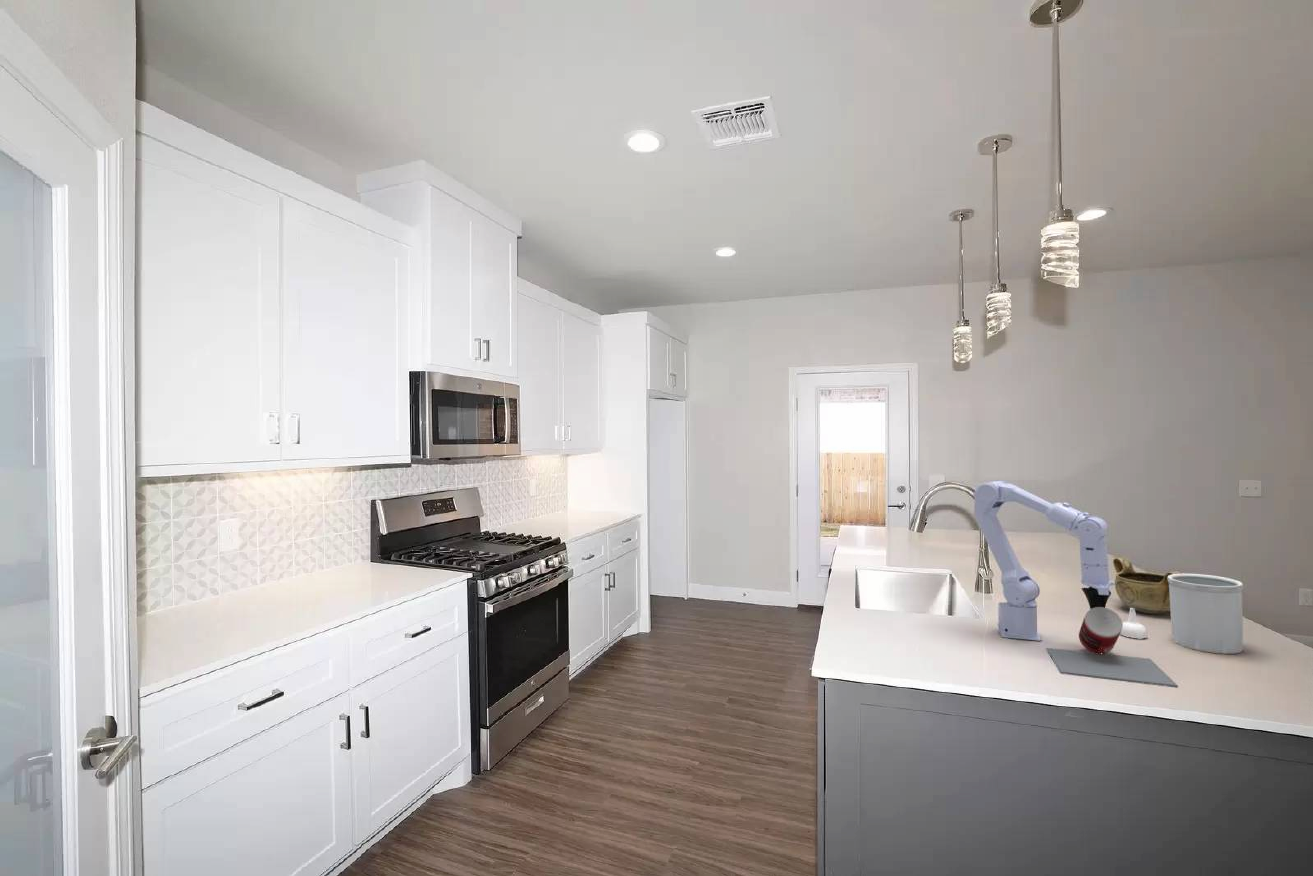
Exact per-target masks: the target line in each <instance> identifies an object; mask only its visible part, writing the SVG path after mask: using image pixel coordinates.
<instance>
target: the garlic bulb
mask: <svg viewBox="0 0 1313 876" xmlns="http://www.w3.org/2000/svg"><path fill="white" fill-rule="evenodd" d="M1128 613H1129V614H1128V619H1127V621H1124V622H1122V624H1123V626H1122V631H1121V633H1120V635H1121V636H1122V635H1123V636H1122V637H1124V636H1128V637H1131V638H1130V639H1132V638H1138V639H1137V640H1144V639H1143V638H1145V639H1147V637H1148V630H1147V628H1146V627H1145V626H1144V625H1143V624H1141V623H1139V621H1138V618H1137V614H1136V610H1135V609H1133V608H1130V607H1129V612H1128ZM1128 637H1127V638H1128Z"/></svg>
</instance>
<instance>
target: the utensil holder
mask: <svg viewBox="0 0 1313 876" xmlns="http://www.w3.org/2000/svg"><path fill="white" fill-rule="evenodd" d="M1168 582H1169V593H1170V611H1169V612H1170V623H1171V637H1172V641H1173V642H1174V641H1175V642H1176V643H1175V642H1174V643H1175V644H1177V643H1178V644H1177V645H1179V644H1180V645H1179V646H1181V645H1182V646H1181V647H1184V646H1186V647H1185V648H1187V647H1189V648H1188V649H1191V648H1192V649H1191V650H1196V651H1200V650H1202V651H1201V652H1206V653H1212V654H1223V655H1224V654H1225V655H1227V654H1228V655H1231V654H1239V653H1241V652H1242V651H1243V645H1244V644H1243V638H1244V637H1243V636H1244V632H1243V631H1244V626H1243V625H1244V624H1243V616H1244V615H1243V593H1242V592H1243V590H1244V584H1243V583H1242V582H1241V581H1240V580H1236V579H1233V578H1229V577H1223V576H1218V575H1210V574H1202V573H1201V574H1200V573H1183V574H1172V575H1169V576H1168Z"/></svg>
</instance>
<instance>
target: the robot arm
mask: <svg viewBox="0 0 1313 876" xmlns="http://www.w3.org/2000/svg"><path fill="white" fill-rule="evenodd" d="M972 496H973V498H974V505H973V506H974V507H973V508H974V509H973V515H974V517H975V521H976V522H977V525H978V526H979V529H980V530H981V533H982V534H983V537H984V539H985V541H986V543H987V545H988V547H989V549H990V551H991V553H992V555H993V557H994V559H995V561H996V564H997V566H998V567H999V570H1000V572H1001V578H1000V583H1001V585H1002V590H1003V591H1002V593H1003V597H1004V598H1005V600H1006V601H1005V602H998V607H997V608H998V609H997V611H998V612H997V614H998V620H997V621H998V622H997V627H998V631H999V634H1000V636H1001V637H1002V638H1007V639H1008V638H1009V639H1018V640H1027V641H1028V640H1029V641H1030V640H1031V641H1037V642H1041V641H1042V638H1041V636H1040V635H1039V633H1038V603H1037V600H1036V599H1037V598H1038V597H1039V596H1040V594H1041V589H1040V588H1041V587H1040V586H1039V584H1038V583H1037V581H1036V580H1034V579H1033V577H1032V576H1031V575H1030V573H1029V572H1028V571H1027V570H1026V569H1025V568H1023V567H1022V566H1021V564H1020V561H1019V559H1018V557H1017V555H1016V553H1015V551H1014V548H1013V547H1012V545H1011V543H1010V541H1009V539H1008V537H1007V534H1006V533H1005V530H1004V528H1003V526H1002V524H1001V522H1000V520H999V518H998V516H997V514H998V512H999V511H1000V508H1001V506H1003V505H1004V504H1005V503H1006V502H1007V503H1009V502H1010V503H1011V502H1013V503H1014V502H1016V503H1017V504H1020V505H1022V506H1026V507H1027V508H1029V509H1033V510H1034V511H1036V512H1039V513H1041V514H1044V515H1045V516H1046V518H1047V521H1048V522H1050V523H1052V524H1055V525H1057V526H1059V527H1060V528H1061V527H1062V528H1063V529H1065V530H1068V531H1069V532H1072V533H1075V535H1076V536H1077V537H1078V538H1079V554H1080V568H1081V569H1080V570H1081V571H1080V572H1081V580H1080V583H1081V584H1082V585H1083V586H1087V587H1082V588H1081V591H1082V592H1083V594H1084V595H1085V597H1086V600H1087V602H1088V606H1089V610H1090V609H1092V608H1095V607H1104V608H1106V606H1107V605H1106V604H1107V602H1108V600H1109V599H1110V597H1111V594H1112V592H1111V591H1110V589H1109V588H1110V586H1115V581H1113V580H1110V576H1109V575H1110V574H1109V560H1108V559H1109V558H1108V556H1109V555H1108V547H1107V539H1106V538H1107V537H1106V536H1107V534H1108V533H1109V525H1108V523H1107V522H1106V521H1105V520H1104V519H1103V518H1101V517H1100V516H1098V515H1090V513H1088V512H1087V511H1084V512H1083V511H1080V510H1078V509H1076V508H1073V507H1072V506H1071V504H1070V503H1068V502H1063V503H1062V502H1055V503H1051V502H1049V501H1046V500H1045V499H1043V498H1041V497H1038V496H1037V495H1035V494H1033V493H1031V492H1029V491H1027V490H1025V489H1023V488H1022V487H1019V486H1017V485H1015V484H1013V483H1008V482H1007V481H1004V480H999V479H997V480H994V481H984V482H981V483H980V484H979V485H978V486H977V487H976V489H975V490H974V492H973V494H972Z"/></svg>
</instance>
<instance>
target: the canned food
mask: <svg viewBox="0 0 1313 876" xmlns="http://www.w3.org/2000/svg"><path fill="white" fill-rule="evenodd" d="M1081 623H1082V624H1081V626H1080V629H1079V631H1078V639H1079V643H1080V644H1081V645H1082V647H1083V648H1085V649H1086V650H1087V651H1088V652H1091V653H1093V652H1094V653H1102V654H1107V653H1108V652H1110V651H1112V650H1113V649H1114V648H1115V646H1116V643H1117V641H1118V639H1119V637H1120V635H1121V634H1120V633H1121V631H1122V626H1123V624H1122V623H1123V620H1122V618H1121V616H1120V615H1119V614H1118V613H1116V612H1115V611H1114V610H1112V609H1110V608H1107V607H1105V608H1104V607H1095V608H1092V609H1090V608H1089V610H1088V611H1087V612H1086V613H1085V616H1084V618H1083V620H1082V622H1081Z"/></svg>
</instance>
